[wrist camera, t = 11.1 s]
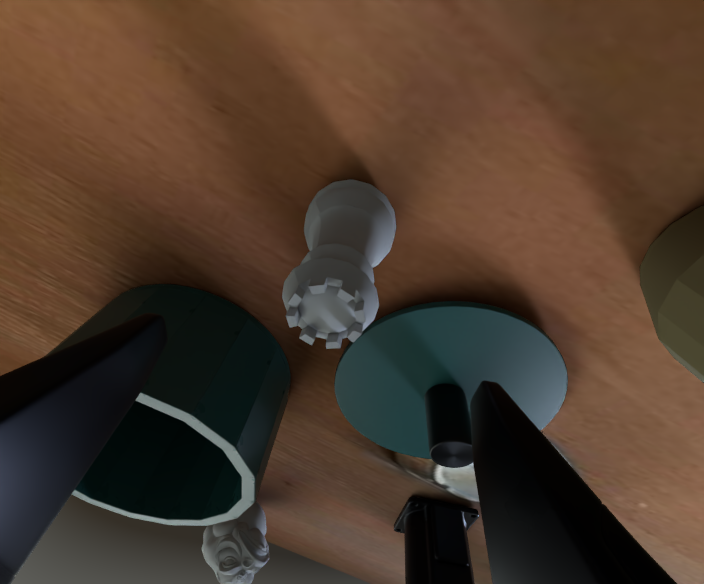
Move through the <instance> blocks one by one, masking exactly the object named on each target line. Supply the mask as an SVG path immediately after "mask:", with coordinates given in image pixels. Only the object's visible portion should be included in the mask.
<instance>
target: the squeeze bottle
mask: <svg viewBox="0 0 704 584" xmlns="http://www.w3.org/2000/svg"><path fill="white" fill-rule="evenodd" d="M640 286H641V288H642V291H643V294H644V297H645V300H646V303H647V306H648V309H649V312H650V315H651V318H652V321H653V324H654V327H655V330H656V333H657V336H658V339H659V340H660V341H661V342H662V344H663V345H664V346H665V347H666V349H667V350H668V351H669V352H670V354H671V355H672V356H673V357H674V358H675V359H676V360H677V361H678V362H679V363H680V364H682V365H683V366H684V367H685V368H686V369H688V370H689V371H690V372H691V373H692V374H694V375H695V376H696V377H697V378H698V379H699V380H701V381H702V382H703V383H704V206H701V207H699V208H697V209H696V210H694V211H692V212H691V213H689V214H687V215H686V216H684V217H682V218H681V219H679V220H677V221H676V222H674V223H672V224H671V225H670V226H669V227H668V228H667V229H666V230H665V231H664V232H663V233H662V234H661V235H660V236H659V237H658V238H657V239H656V240H655V241H654V242H653V243H652V244H651V245H650V247H649V249H648V251H647V253H646V255H645V257H644V259H643V261H642V263H641V265H640Z"/></svg>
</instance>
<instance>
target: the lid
mask: <svg viewBox="0 0 704 584" xmlns="http://www.w3.org/2000/svg"><path fill="white" fill-rule="evenodd" d="M484 380H486V381H491V382H496V383H498V384H500V385H501V387H502V388H503V389H504V390H505V391H506V392H507V393H508V395H509V396H510V397H511V398H512V399H513V400H514V401H515V403H516V404H517V405H518V406H519V407H520V408H521V410H522V411H523V412H524V413H525V414H526V415H527V416H528V418H529V419H530V420H531V421H532V422H533V423H534V424H535V426H536V427H537V428H538V429H539V430H542V429H543V428H544V427H545V426H546V425H547V424H548V423H549V422H550V421H551V420H552V419H553V418H554V416H555V415H556V413H557V412H558V411H559V409H560V407H561V405H562V403H563V401H564V399H565V395H566V391H567V382H568V376H567V370H566V365H565V363H564V360H563V357H562V355H561V354H560V352H559V350H558V349H557V347H556V345H555V344H554V342H553V341H552V340H551V339H550V338H549V336H548V335H547V334H546V333H545V332H544V331H543V330H541V329H540V328H539V327H538V326H536V325H535V324H534V323H532V322H531V321H529V320H527V319H525V318H523V317H522V316H520V315H518V314H515V313H513V312H510V311H508V310H505V309H503V308H499V307H495V306H491V305H488V304H481V303H475V302H464V301H444V302H432V303H426V304H420V305H415V306H412V307H408V308H405V309H401V310H399V311H396V312H394V313H391V314H389V315H386V316H384V317H382V318H381V319H379V320H377V321H375V322H373V323H372V324H370V325H369V326H368V327H367V328H366V329H365V330H364V331H362V334H361V335H360V336H359V337H358V338H357V339H356V340H355V341H354V342H350V343H349V345H348V346H347V347H346V349H345V350H344V352H343V354H342V356H341V358H340V360H339V363H338V366H337V369H336V375H335V383H334V385H335V395H336V399H337V402H338V405H339V407H340V409H341V411H342V413H343V414H344V416H345V417H346V419H347V420H348V421H349V422H350V424H351V425H352V426H353V427H354V428H355V429H356V430H358V431H359V432H360V433H361V434H362V435H364V436H365V437H367V438H368V439H370V440H371V441H373V442H375V443H377V444H379V445H380V446H383V447H385V448H387V449H390V450H392V451H395V452H398V453H402V454H405V455H410V456H414V457H420V458H426V459H432V460H433V461H434V462H435V463H437V464H439V465H441V466H444V467H451V468H458V467H464V466H467V465H469V464H471V463H473V453H472V434H471V413H470V403H471V399H472V397H473V395H474V393H475V392H476V390H477V388H478V387H479V385H480V383H481V382H482V381H484Z"/></svg>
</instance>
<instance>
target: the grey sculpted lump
mask: <svg viewBox="0 0 704 584" xmlns="http://www.w3.org/2000/svg"><path fill="white" fill-rule="evenodd" d="M266 530H267V527H266V517H265V513H264V511H263V509H262V507H261V506H260V504H259V503H258V502H256V501H255V502H254V503H253V504H252V505H251V506H250V507H249V508H248V509H247V510H246V511H245V512H244V513H242V514H241V515H240V516H239V517H238V518H236V519H232V520H228V521H224V522H220V523H217V524H213V525H208V526H207V528H206V529H205V531H204V534H203V541H204V543H203V546H202V552H203V554H204V558H205V560H206V562H207V563H208V564H209V565H210V566H211V568H212V569H213V570H214V572H215V573H216V578H217V579H218V581H219V582H220V583H221V584H251V583H252V580H253V578H254V574H255V573H257V572H258V571H259V570H260V568H261V567H263V566H264V565H265V564H266V563H267V561H268V559H269V550H268V545H267V542H266V539H265V538H264V536H265V534H266Z"/></svg>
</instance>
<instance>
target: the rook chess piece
mask: <svg viewBox="0 0 704 584" xmlns="http://www.w3.org/2000/svg"><path fill="white" fill-rule="evenodd" d="M395 231H396V220H395V211H394V209H393V208H392V206H391V204H390V202H389V201H388V199H387V197H386V195H384V194H383V193H382V192H380V191H379V190H378V189H376V188H375V187H374V186H372V185H371V184H368V183H364V182H361V181H357V180H353V179H350V180H344V181H337V182H333V183H331V184H330V185H328V186H326V187H325V188H323V189H322V190H320V191H318V193H317V194H316V196H315V197H314V199H313V200H312V202H311V203H310V205H309V208H308V211H307V213H306V218H305V225H304V234H305V238H306V241H307V245H308V249H309V250H310V252H308V254H307V255H306V256H305V258H304V259H303V261H302V262H301V265H299V266H297V267H296V268H294V269H293V270H292V271H291V273H290V274H289V276H288V277H287V279H286V280H285V281H284V287H283V294H282V299H283V301H284V304H285V307H286V310H287V314H286V318H287V321H288V324H289V327H290V328H291V327H295V326H298V325H299V327H300V328H301V329H302V331H301V334H300V337H299V339H301V340H303V341H305V342H306V343H308V344H310V345H312V344H313V342H314V340H315V337H319V338H323V339H327V340H326V349H333V348H341V343H342V339H343V338H348V339H349V340H350V341H351V342H354V341H355V340H356V339H357V338H358V337H359V336H360V335H361V334H362V331H364V330H365V329H366V328H367V326H368V325H369V324H370V323H371V322H372V321H373V320H374V319H375V316H376V313H377V310H378V307H379V301H378V295H377V289H376V287H375V286H374V281H375V280H374V274H373V267H375V266H377V265H378V264H379V263H380V262H381V261H382V260H383V259H384V258H385V256H386V255H387V254H388V253H389V252H390V249H391V246H392V243H393V240H394V237H395Z"/></svg>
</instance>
